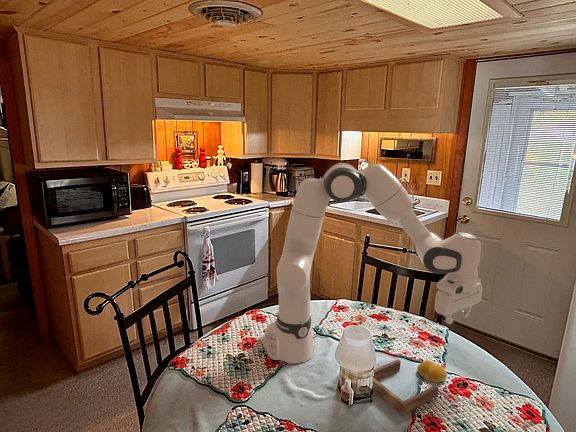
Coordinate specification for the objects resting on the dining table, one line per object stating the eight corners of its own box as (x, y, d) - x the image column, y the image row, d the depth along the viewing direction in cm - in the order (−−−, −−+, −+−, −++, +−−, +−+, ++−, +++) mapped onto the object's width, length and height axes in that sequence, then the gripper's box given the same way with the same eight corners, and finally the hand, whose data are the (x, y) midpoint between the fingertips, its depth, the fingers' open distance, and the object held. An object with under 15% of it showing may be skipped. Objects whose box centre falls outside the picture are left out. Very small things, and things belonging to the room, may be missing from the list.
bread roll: (438, 387, 124) (439, 376, 124) (413, 373, 131) (414, 363, 130) (451, 376, 130) (452, 366, 129) (426, 363, 136) (427, 353, 135)
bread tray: (363, 383, 126) (364, 373, 125) (397, 368, 133) (397, 359, 132) (402, 415, 112) (403, 405, 111) (437, 396, 120) (438, 387, 119)
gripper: (472, 272, 136) (467, 308, 139) (433, 284, 125) (429, 323, 129) (489, 278, 130) (484, 316, 134) (450, 291, 120) (445, 332, 123)
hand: (456, 319), depth 131 cm, fingers open, 7 cm apart
